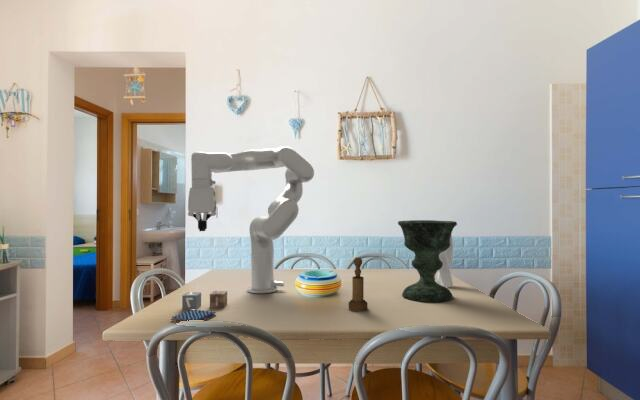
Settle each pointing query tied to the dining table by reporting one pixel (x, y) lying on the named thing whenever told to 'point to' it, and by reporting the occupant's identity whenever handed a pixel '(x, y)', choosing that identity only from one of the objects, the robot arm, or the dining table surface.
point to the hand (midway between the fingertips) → (202, 230)
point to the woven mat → (193, 315)
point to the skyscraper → (445, 267)
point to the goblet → (427, 257)
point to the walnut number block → (218, 299)
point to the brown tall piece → (357, 290)
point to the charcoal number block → (191, 300)
